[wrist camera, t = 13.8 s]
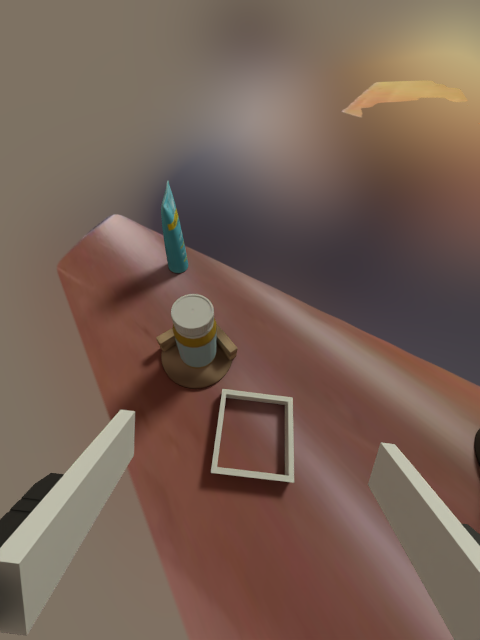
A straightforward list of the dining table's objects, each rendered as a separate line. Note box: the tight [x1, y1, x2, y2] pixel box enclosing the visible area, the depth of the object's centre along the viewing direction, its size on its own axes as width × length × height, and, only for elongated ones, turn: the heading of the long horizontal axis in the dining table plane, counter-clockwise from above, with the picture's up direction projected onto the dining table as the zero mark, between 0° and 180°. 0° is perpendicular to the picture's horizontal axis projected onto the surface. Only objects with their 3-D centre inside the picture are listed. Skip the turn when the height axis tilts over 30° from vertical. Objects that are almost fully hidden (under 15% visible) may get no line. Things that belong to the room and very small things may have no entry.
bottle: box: [171, 294, 217, 368], centre depth 41 cm, size 7×7×15 cm
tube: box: [161, 182, 188, 273], centre depth 52 cm, size 7×5×19 cm, turn 7°
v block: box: [156, 324, 237, 389], centre depth 46 cm, size 14×15×4 cm
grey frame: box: [211, 389, 294, 483], centre depth 40 cm, size 13×13×2 cm
